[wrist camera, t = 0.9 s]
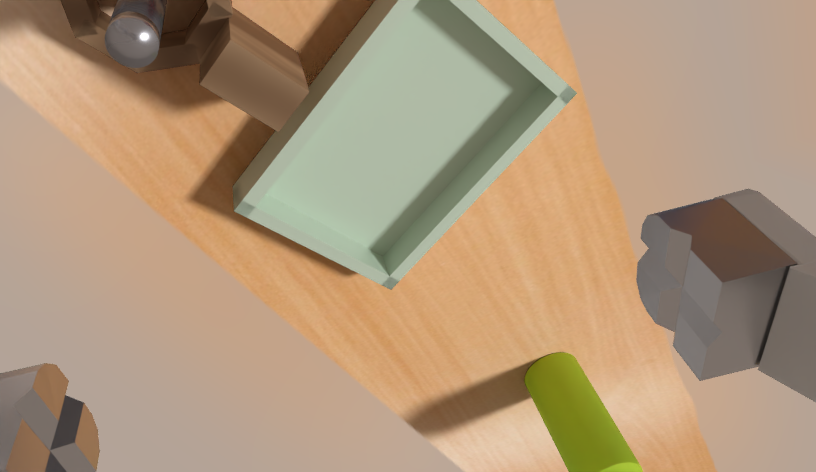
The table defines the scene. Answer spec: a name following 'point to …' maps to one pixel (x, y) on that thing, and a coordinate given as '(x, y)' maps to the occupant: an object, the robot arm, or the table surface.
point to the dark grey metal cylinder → (135, 31)
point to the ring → (217, 57)
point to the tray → (400, 135)
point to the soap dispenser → (577, 417)
